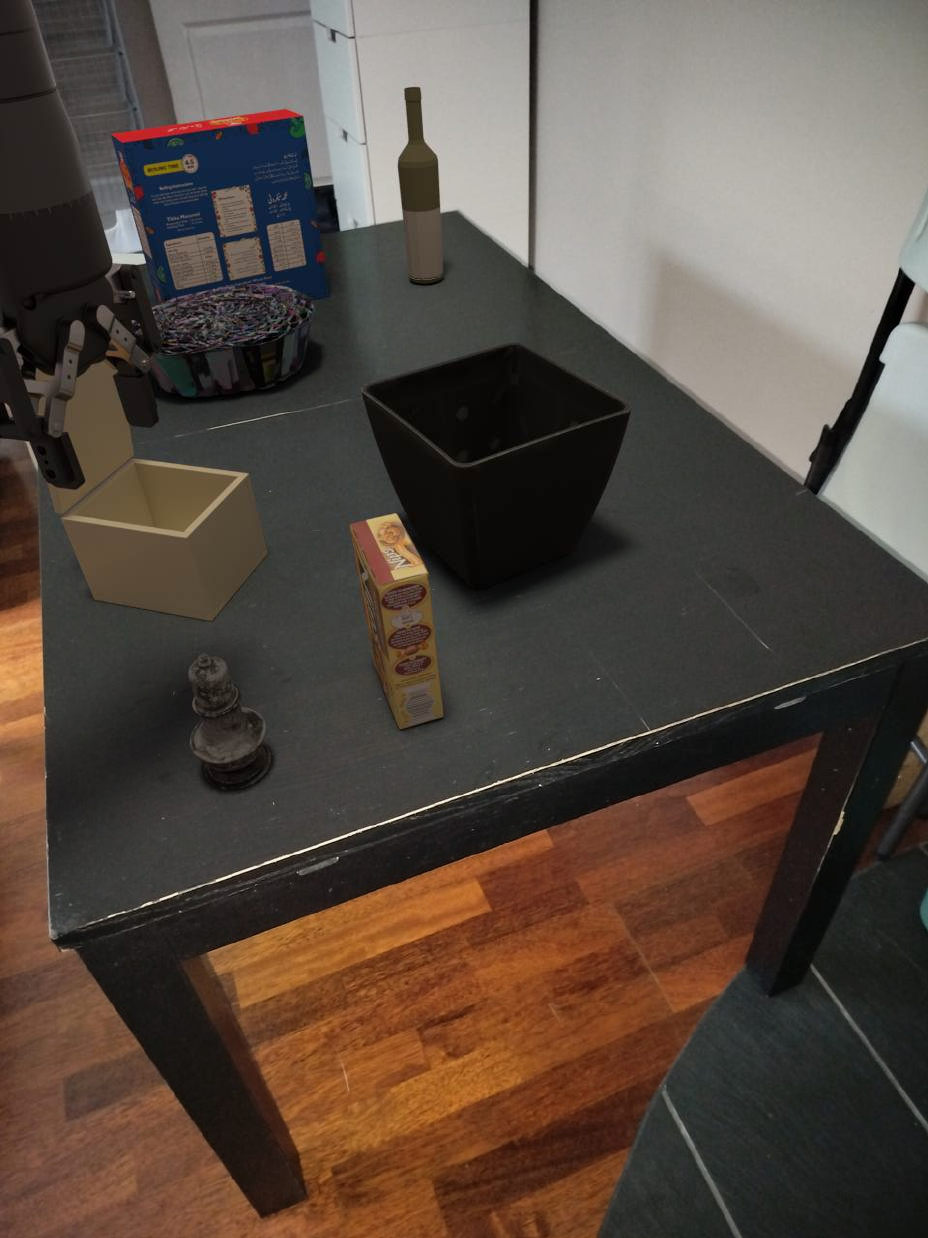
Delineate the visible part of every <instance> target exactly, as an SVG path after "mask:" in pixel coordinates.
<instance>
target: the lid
mask: <svg viewBox="0 0 928 1238" xmlns="http://www.w3.org/2000/svg"><path fill="white" fill-rule="evenodd" d="M117 372H118V370H113V369H112V368H111V367H109V366H108V365H107V364H106V363H105V362H104V361H102V362H100V363H96V364H92V365H91V366H90V367H89V368H88V370H87V371H86V372H85V373H84V374H82V375H81V376H79V377H78V378H76V386H75V394H74V396H73V398H72V399H70V400H69V401H68V402H67V404H66V412H65V421H64V430H63V432H68V434H69V436H70V439H71V442H72V445H73V447H74V450H75V453H76V455H77V458H78V461H79V464H80V466H81V469H82V472H83V475H84V477H85V483H84V484H83V485H82V486H81V487H79V488H78V489H77V490H72V489H64V488H57V487H55V486H53V485H52V484H51V483H48V482H47V481H46V482H47V486H48V490H49V494H50V498H51V502H52V506H53V510H54V513H55V514H58V515H65V514H66V513H67V512H68V510H71V509H72V508H73V507H74V506H75V505H77V504H78V503H79V502H80V501H81V500H83V499H84V498H85V496H87V495H89V494H90V493H91V491H92V490H95V489H96V488H97V487H98V486H99V485H101V484H102V483H103V481H106V480H107V479H108V478H109V477H110V476H112V475H113V474H114V473H115V472H116V471H118V470H119V469H120V468H121V467H122V466H124V465H125V464H126V463H127V462H128V461H130V460H131V459H132V458H133V456H135V453H134V452H135V450H134V446H133V440H132V433H131V428H130V424H129V423H128V422H127V420H126V417H125V414H124V410H123V407H122V404H121V401H120V398H119V395H118V392H117V388H116V385H115V382H114V379H113V375H114V374H116V373H117ZM53 378H54V376H50V375H47V374H44V373H43V372H41V371H40V370H39V369H37V368H36V381H46V382H48V381H51V380H52V379H53ZM45 399H46V398H45V397H42V398H40V400H39V407H38V415H41V416H44V409H45Z"/></svg>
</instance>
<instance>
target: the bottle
mask: <svg viewBox="0 0 928 1238" xmlns="http://www.w3.org/2000/svg"><path fill="white" fill-rule="evenodd" d="M403 92H404V93H403V95H404V96H403V97H404V101H405V113H406V114H405V115H406V123H407V124H406V126H407V136H408V137H407V139H408V140H407V144H406V145H405V147H403V150H402V151H401V153H400V154H399V156H398V159H397V173H398V174H397V175H398V183H399V194H400V203H401V211H402V221H403V233H404V242H405V243H404V244H405V249H406V250H405V251H406V261H407V269H408V270H407V271H408V277H409V276H410V277H412V278H415V279H421V280H415V279H412V278H410V277H409V281H411V282H413V283H416V284H421V285H429V284H433V283H434V284H435V283H437V282H439V281H440V280H442V279H443V278H444V259H443V258H444V257H443V256H444V255H443V236H442V215H441V214H442V213H441V194H440V193H441V192H440V171H439V158H438V155H437V154H436V153H435V152H434V150H432V148H431V147H430V146H429V144H428V143H426V140H425V138H424V124H423V123H424V122H423V109H422V98H423V97H422V90H421V87H420V86H409V87H405V88H404V89H403ZM442 274H443V275H442ZM441 275H442V276H441ZM439 276H441V277H439ZM437 277H439V278H437ZM432 278H436V279H432ZM422 279H432V280H422Z"/></svg>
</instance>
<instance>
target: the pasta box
mask: <svg viewBox="0 0 928 1238" xmlns="http://www.w3.org/2000/svg"><path fill="white" fill-rule="evenodd" d="M306 132H307V131H306V125H305V120H304V115H303V114H301V113H297V112H295V111H292V110H289V109H287V108H282V109H275V110H268V111H262V112H261V111H260V112H255V113H248V114H247V113H246V114H241V115H233V116H226V117H219V118H213V119H212V118H211V119H205V120H198V121H192V122H184V123H178V124H171V125H164V126H158V127H150V128H143V129H137V130H130V131H123V132H116V133H110V137H111V140H112V144H113V147H114V152H115V155H116V159H117V162H118V167H119V169H120V174H121V177H122V180H123V184H124V188H125V192H126V195H127V199H128V203H129V207H130V210H131V213H132V217H133V221H134V225H135V228H136V231H137V236H138V239H139V243H140V246H141V250H142V254H143V258H144V261H145V264H146V269H147V272H148V275H149V279H150V283H151V286H152V290H153V294H154V298H155V301H156V305H158V304H161V303H164V302H167V301H169V300H171V299H174V298H177V297H181V296H185V295H189V294H193V293H198V292H204V291H209V290H212V289H217V288H226V287H235V286H240V285H247V284H264V285H276V286H284V287H289V288H291V289H293V290H295V291H299V292H301V293H302V294H304V295H306V296H308V297H310V298H313V299H314V300H317V299H318V300H319V299H323V298H326V297H330V291H329V290H330V289H329V283H328V276H327V270H326V262H325V255H324V249H323V241H322V235H321V228H320V221H319V215H318V208H317V201H316V194H315V187H314V179H313V172H312V167H311V159H310V153H309V146H308V145H309V144H308V140H307V133H306ZM326 290H328V291H326ZM323 291H324V292H323ZM314 293H315V294H314Z"/></svg>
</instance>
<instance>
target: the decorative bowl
mask: <svg viewBox="0 0 928 1238" xmlns="http://www.w3.org/2000/svg"><path fill="white" fill-rule="evenodd" d="M151 307H152V310H153V314H154V317H155V320H156V323H157V326H158V330H159V333H160V336H161V339H162V344H163V346H162V350H161V352H160V353H153V354H152V356H151V358H150V361H151V367H150V370H149V373H150V374H151V375H152V377H153V378H154V379H155V381H156V383H157V384H158V385H159V386H160V387H161V389H163V390H164V391H165V392H166V393H167V394H171V395H175V394H176V395H177V394H179V395H180V396H181V397H184V398H190V399H198V398H200V397H206V398H209V397H214V396H218V395H222V396H227V395H236V394H239V393H241V392H247V391H248V392H249V391H253V390H259V391H260V390H261V391H263V390H266V389H269V388H272V387H275V386H276V385H277V384H278V382H282V381H285V380H286V379H287V378H288V377H290V376H294V375H296V374H298V372H299V371H300V370H301V368H302V364H303V363H304V362H305V358H306V353H307V347H308V342H309V338H310V337H309V336H310V331H311V325H312V321H313V316H314V313H315V312H316V308H315V299H313V298H310V297H308V296H306V295H304V294H302V293H301V292H299V291H295V290H293V289H291V288H289V287H284V286H276V285H264V284H247V285H240V286H235V287H226V288H217V289H212V290H209V291H204V292H198V293H193V294H189V295H185V296H181V297H177V298H174V299H171V300H169V301H167V302H164V303H161V304H158V305H157V304H156V305H154V306H151ZM131 321H132V324H133V327H134V330H135V333H138V334H142V331H141V328H140V325H139V323H138V322H137V321H135V320H131Z"/></svg>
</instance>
